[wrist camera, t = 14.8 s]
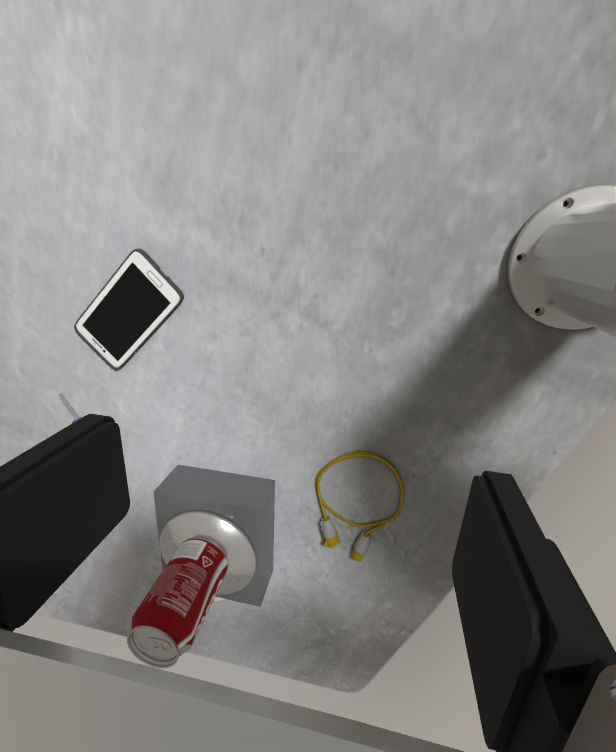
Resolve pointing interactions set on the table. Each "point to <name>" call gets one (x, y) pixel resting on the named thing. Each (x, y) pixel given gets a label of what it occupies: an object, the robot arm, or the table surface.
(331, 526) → the extension cord
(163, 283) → the cell phone
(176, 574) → the soda can
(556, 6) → the table surface
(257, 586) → the scale
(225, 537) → the scale pan
